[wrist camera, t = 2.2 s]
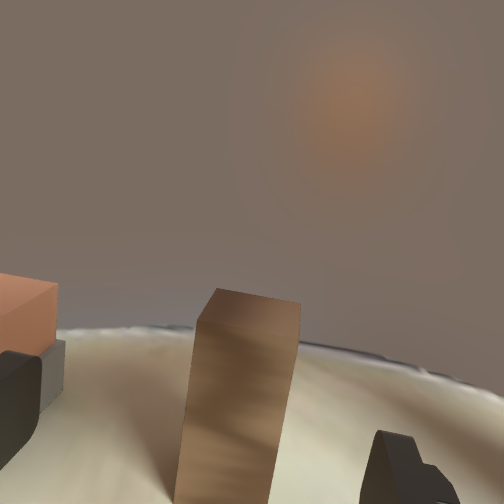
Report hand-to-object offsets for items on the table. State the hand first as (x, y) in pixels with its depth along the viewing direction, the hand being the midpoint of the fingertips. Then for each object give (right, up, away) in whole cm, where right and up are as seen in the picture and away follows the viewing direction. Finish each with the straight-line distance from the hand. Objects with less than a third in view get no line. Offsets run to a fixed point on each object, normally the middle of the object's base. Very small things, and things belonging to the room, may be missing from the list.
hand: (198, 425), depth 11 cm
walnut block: (0, -8, +14) cm, 17 cm away
